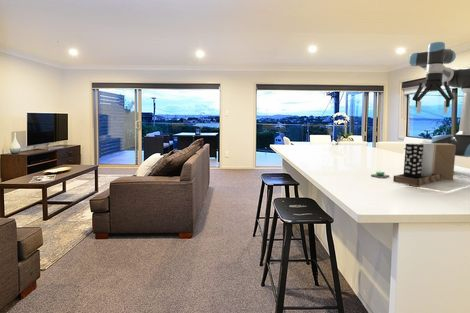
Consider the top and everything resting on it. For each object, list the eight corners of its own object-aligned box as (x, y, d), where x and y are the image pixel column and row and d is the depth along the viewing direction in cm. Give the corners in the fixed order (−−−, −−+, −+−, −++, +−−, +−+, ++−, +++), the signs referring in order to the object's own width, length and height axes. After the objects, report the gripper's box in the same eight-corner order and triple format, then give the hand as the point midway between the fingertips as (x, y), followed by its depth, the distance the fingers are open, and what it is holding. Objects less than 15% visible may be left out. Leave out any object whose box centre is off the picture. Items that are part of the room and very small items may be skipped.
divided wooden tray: (416, 178, 202) (417, 171, 201) (440, 181, 191) (441, 174, 191) (393, 183, 186) (393, 175, 186) (418, 187, 176) (418, 179, 176)
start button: (378, 176, 202) (378, 171, 202) (385, 177, 199) (386, 172, 199) (374, 177, 200) (374, 171, 199) (381, 178, 196) (381, 173, 196)
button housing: (377, 176, 204) (377, 173, 204) (389, 178, 199) (389, 175, 199) (370, 178, 200) (371, 174, 200) (382, 180, 195) (382, 176, 194)
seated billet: (419, 177, 198) (421, 142, 196) (433, 180, 192) (436, 143, 189) (412, 179, 193) (414, 143, 191) (427, 181, 187) (430, 144, 184)
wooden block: (453, 181, 193) (456, 144, 190) (433, 180, 195) (436, 144, 192) (446, 178, 202) (449, 143, 200) (427, 177, 204) (429, 142, 202)
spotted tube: (402, 180, 190) (404, 143, 188) (419, 181, 188) (422, 143, 185) (403, 183, 182) (406, 144, 180) (421, 184, 180) (424, 145, 177)
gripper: (407, 74, 193) (404, 113, 196) (457, 70, 174) (454, 113, 176) (414, 75, 198) (411, 113, 200) (463, 71, 178) (460, 113, 181)
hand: (431, 113), depth 188 cm, fingers open, 13 cm apart
